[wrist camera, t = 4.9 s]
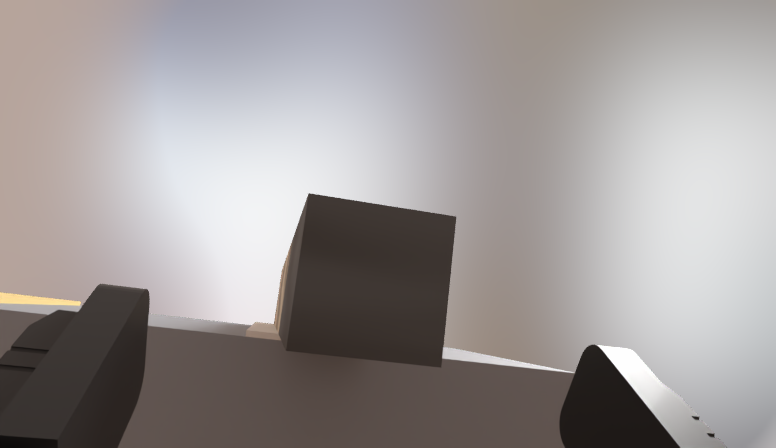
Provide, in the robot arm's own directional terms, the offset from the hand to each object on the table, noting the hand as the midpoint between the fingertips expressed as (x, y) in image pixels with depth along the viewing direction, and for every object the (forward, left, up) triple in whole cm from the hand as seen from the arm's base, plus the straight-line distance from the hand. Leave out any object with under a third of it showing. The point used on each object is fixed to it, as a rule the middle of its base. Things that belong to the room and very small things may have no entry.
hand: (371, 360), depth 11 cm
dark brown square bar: (-9, -7, 0) cm, 11 cm away
